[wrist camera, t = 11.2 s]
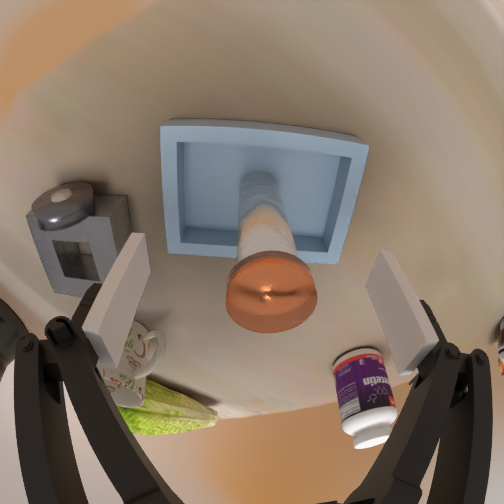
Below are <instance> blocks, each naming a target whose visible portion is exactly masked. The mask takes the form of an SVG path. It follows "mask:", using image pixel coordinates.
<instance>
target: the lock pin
mask: <svg viewBox="0 0 504 504" xmlns="http://www.w3.org/2000/svg"><path fill="white" fill-rule="evenodd" d="M316 303H317V292H316V288H315V285H314V282H313V278H312V275H311V272H310V270H309V268H308V266H307V265H306V264H305V263H304V262H303V261H302V260H301V259H300V258H298V255H297V251H296V247H295V244H294V240H293V236H292V233H291V229H290V225H289V222H288V218H287V215H286V211H285V208H284V204H283V201H282V197H281V194H280V190H279V187H278V183H277V181H276V179H275V178H274V177H273V176H272V175H271V174H269V173H268V172H265V171H253V172H251V173H249V174H247V175H246V176H245V177H244V178H243V179H242V181H241V183H240V187H239V209H238V234H237V260H236V265H235V266H234V268H233V269H232V270H231V272H230V274H229V277H228V280H227V292H226V308H227V311H228V314H229V315H230V317H231V318H232V319H233V320H234V321H235V322H236V323H237V324H238V325H240V326H241V327H243V328H245V329H248V330H250V331H254V332H259V333H277V332H283V331H286V330H289V329H292V328H294V327H296V326H298V325H300V324H301V323H303V322H304V321H305V320H306V319H307V318H308V317H309V316H310V315H311V314H312V312H313V311H314V309H315V307H316Z"/></svg>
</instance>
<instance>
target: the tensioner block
mask: <svg viewBox="0 0 504 504" xmlns="http://www.w3.org/2000/svg"><path fill="white" fill-rule="evenodd" d="M26 218H27V221H28V225H29V228H30V231H31V234H32V237H33V240H34V243H35V245H36V248H37V251H38V254H39V256H40V259H41V262H42V264H43V267H44V269H45V272H46V274H47V276H48V279H49V281H50V283H51V286H52V288H53V290H54V292H55V293H60V294H66V295H72V296H78V297H83V296H84V294H85V292H86V291H87V289H88V288H89V287H90V286H91V285H93V284H94V283H100V284H103V283H104V281H105V279H106V277H107V275H108V274H109V272H110V270H111V268H112V266H113V264H114V263H115V261H116V259H117V257H118V255H119V254H120V252H121V250H122V248H123V247H124V245H125V243H126V242H127V240H128V238H129V237H130V235H131V233H132V229H131V223H130V216H129V209H128V202H127V195H94V194H93V188H92V186H91V185H89V184H87V183H70V184H65V185H61V186H58V187H55V188H53V189H51V190H49V191H47V192H45V193H43V194H42V195H41V196H39V197H38V198H37V199H36V200H35V201H34V203H33V204H32V210H31V211H30V212H29V213H28V214H27V215H26ZM77 242H85V243H89V244H90V248H91V251H92V255H86V254H80V251H79V248H78V245H77Z"/></svg>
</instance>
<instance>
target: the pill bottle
mask: <svg viewBox="0 0 504 504" xmlns="http://www.w3.org/2000/svg"><path fill="white" fill-rule="evenodd" d="M333 375H334V380H335V386H336V391H337V397H338V403H339V409H340V415H341V422H342V428H343V430H344V431H345V432H346V433H347V434H349V435H354V436H355V437H354V439H353V441H354V447H355V448H356V449H362V448H367V447H372V446H375V445H379V444H381V443H384V442H386V441H387V439H388V437H389V435H390V433H391V431H392V428H391V427H390V424H391V423H393V422H394V420H395V419H396V416H397V409H396V405H395V402H394V398H393V394H392V391H391V387H390V383H389V380H388V376H387V373H386V369H385V366H384V363H383V359H382V356H381V354H380V353H379V352H378V351H376V350H374V349H368V348H365V349H357V350H353V351H351V352H349V353H347V354H345V355H343V356H342V357H340V358H339V359H338V360H337V361H336V363H335V364H334V366H333Z"/></svg>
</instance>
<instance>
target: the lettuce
mask: <svg viewBox="0 0 504 504" xmlns="http://www.w3.org/2000/svg"><path fill="white" fill-rule="evenodd" d="M116 406H117V408H118V409H119V411H120V413H121V415H122V417H123V418H124V420H125V422H126V424H127V425H128V427H129V429H130V430H131V432H132V433H135V434H144V435H155V434H156V435H158V434H172V433H180V432H185V431H191V430H195V429H200V428H204V427H209V426H214V425H215V424H216V422H217V417H218V416H217V411H215V410H213V409H211V408H209V407H207V406H205V405H203V404H201V403H199V402H198V401H196V400H194V399H192V398H190V397H188V396H186V395H184V394H182V393H179V392H176V391H173V390H171V389H168V388H166V387H164V386H162V385H160V384H158V383H156V382H154V381H152V380H149V379H146V385H145V398H144V403H143V405H142V406H140V407H135V408H129V407H122V406H118V405H116Z"/></svg>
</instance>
